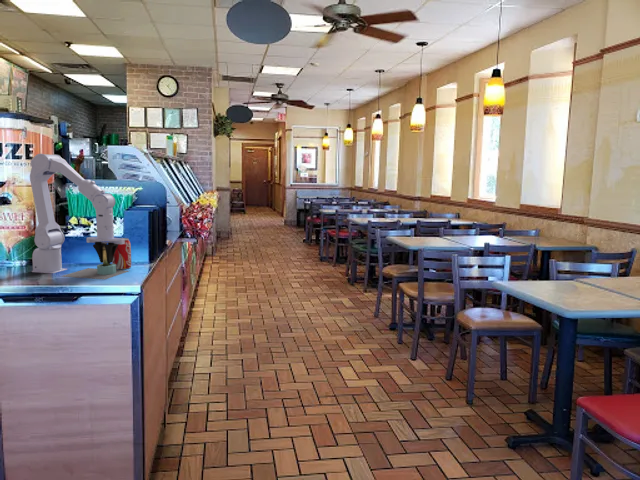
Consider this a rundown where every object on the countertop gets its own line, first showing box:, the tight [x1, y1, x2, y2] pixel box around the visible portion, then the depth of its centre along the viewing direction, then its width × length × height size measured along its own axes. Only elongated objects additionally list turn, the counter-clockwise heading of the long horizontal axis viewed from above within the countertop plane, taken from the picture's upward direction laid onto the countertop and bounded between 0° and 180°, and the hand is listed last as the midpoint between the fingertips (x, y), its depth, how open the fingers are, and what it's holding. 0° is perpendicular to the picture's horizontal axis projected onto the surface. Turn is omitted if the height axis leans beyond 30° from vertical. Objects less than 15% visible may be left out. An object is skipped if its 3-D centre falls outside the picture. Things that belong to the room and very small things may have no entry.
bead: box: [96, 263, 117, 275], centre depth 189 cm, size 6×6×3 cm
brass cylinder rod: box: [102, 246, 111, 266], centre depth 189 cm, size 2×2×8 cm
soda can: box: [111, 237, 132, 270], centre depth 198 cm, size 7×7×12 cm
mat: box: [60, 267, 130, 280], centre depth 188 cm, size 18×16×1 cm
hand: (106, 262), depth 189 cm, fingers closed on brass cylinder rod, 2 cm apart
